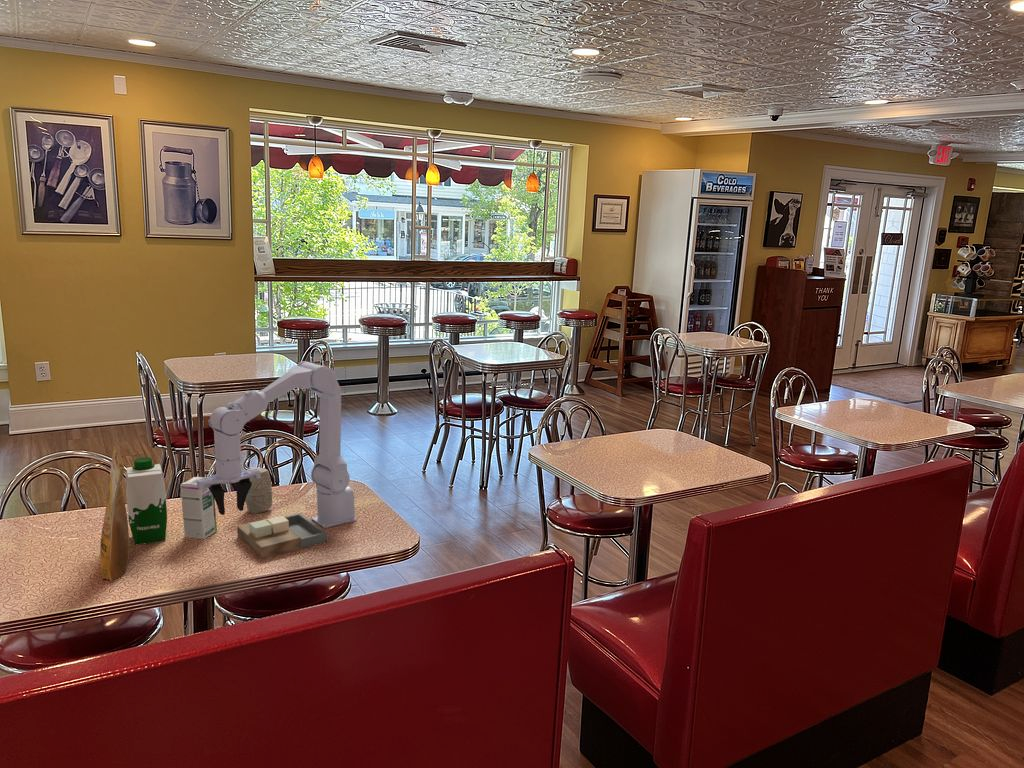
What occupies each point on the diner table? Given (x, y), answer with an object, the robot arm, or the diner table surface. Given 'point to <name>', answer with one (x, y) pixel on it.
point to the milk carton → (146, 501)
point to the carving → (259, 493)
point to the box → (306, 530)
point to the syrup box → (197, 510)
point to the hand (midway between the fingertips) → (231, 511)
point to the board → (269, 541)
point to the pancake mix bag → (115, 525)
